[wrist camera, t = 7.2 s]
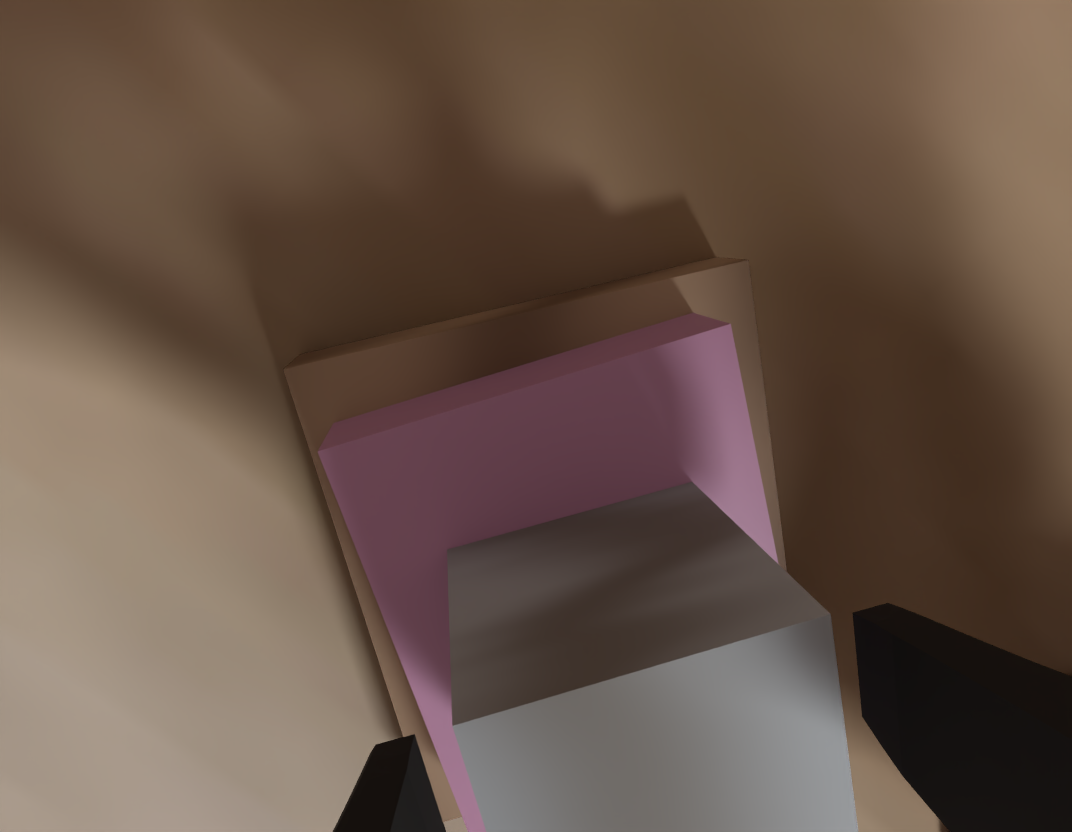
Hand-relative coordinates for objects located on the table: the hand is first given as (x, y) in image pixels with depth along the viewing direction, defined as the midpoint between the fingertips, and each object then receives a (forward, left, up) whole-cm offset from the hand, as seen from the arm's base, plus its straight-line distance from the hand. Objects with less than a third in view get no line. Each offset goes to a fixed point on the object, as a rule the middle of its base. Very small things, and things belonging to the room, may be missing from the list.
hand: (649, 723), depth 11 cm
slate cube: (0, 0, -3) cm, 3 cm away
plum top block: (0, 0, -5) cm, 5 cm away
